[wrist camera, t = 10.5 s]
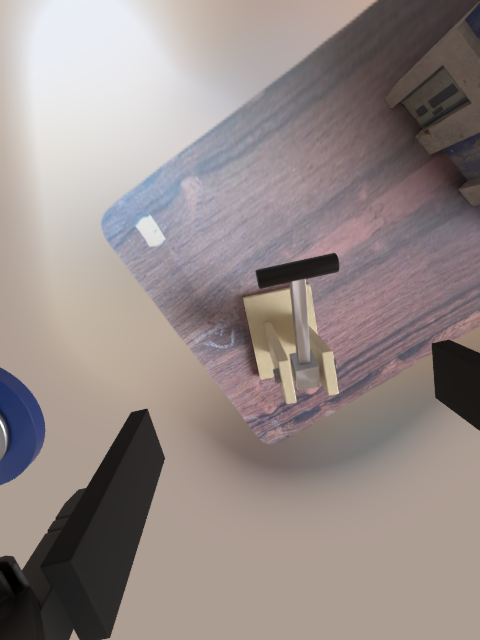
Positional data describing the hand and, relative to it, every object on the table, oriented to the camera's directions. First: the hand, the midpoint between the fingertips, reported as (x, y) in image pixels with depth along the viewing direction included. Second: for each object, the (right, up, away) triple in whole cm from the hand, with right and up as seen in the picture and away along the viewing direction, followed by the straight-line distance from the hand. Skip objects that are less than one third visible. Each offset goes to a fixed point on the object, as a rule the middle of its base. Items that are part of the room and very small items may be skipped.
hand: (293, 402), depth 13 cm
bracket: (+4, +2, +28) cm, 28 cm away
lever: (+3, +4, +13) cm, 14 cm away
